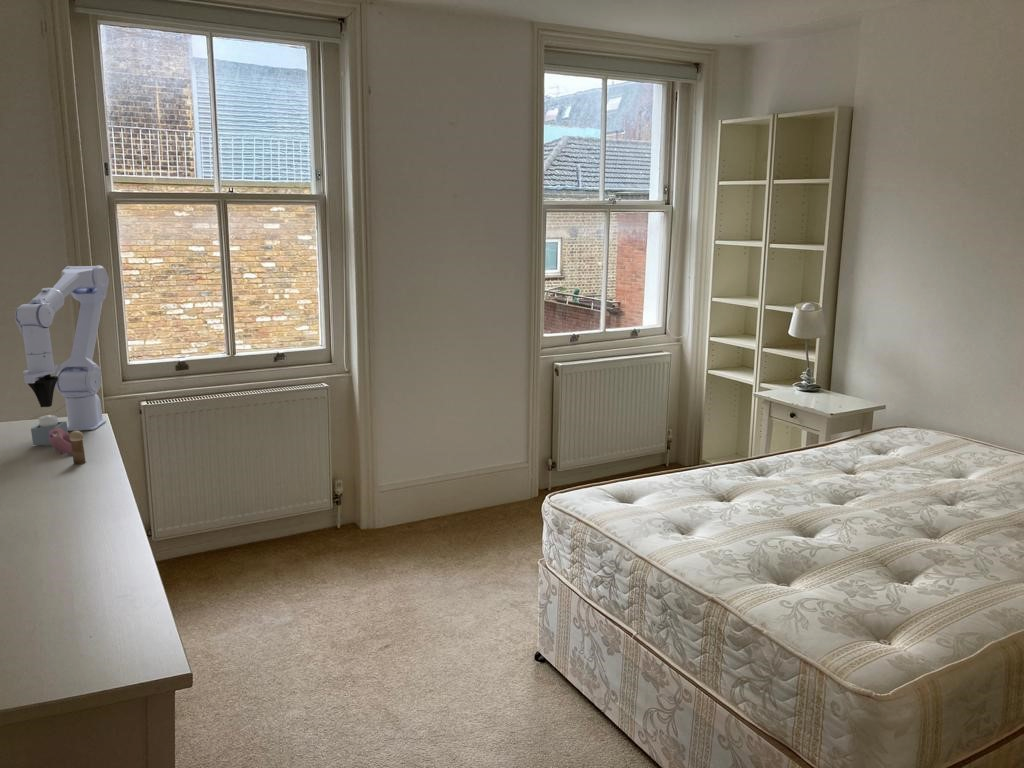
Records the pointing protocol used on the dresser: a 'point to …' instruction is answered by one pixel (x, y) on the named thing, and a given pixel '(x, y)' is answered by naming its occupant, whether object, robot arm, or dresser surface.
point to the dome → (48, 421)
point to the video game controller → (60, 441)
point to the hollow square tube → (45, 433)
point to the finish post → (77, 447)
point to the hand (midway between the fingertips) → (46, 406)
